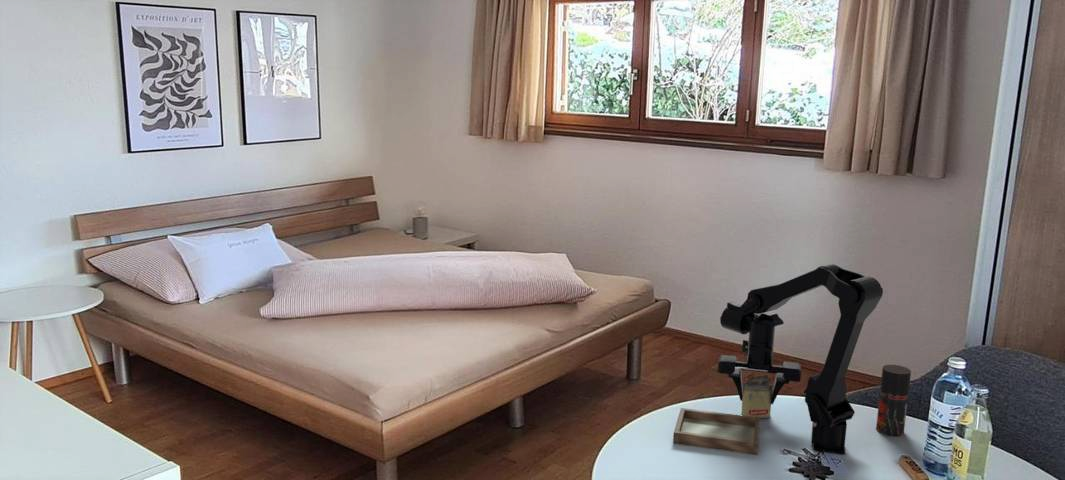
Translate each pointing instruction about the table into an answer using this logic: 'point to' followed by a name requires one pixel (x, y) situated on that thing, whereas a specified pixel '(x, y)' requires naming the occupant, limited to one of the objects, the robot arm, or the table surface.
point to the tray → (717, 431)
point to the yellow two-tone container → (757, 397)
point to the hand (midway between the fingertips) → (756, 402)
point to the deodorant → (893, 400)
